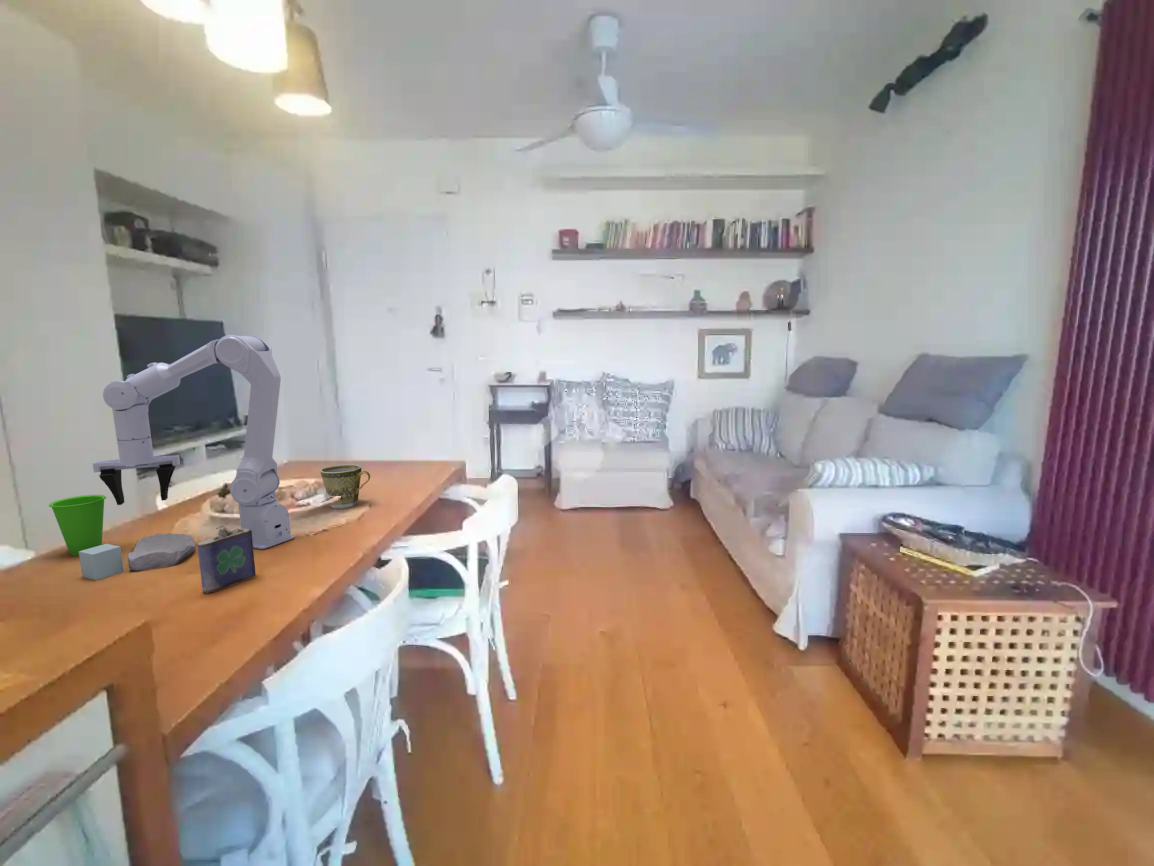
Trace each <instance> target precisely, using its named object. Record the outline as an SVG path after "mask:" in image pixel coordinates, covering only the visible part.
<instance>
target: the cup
mask: <svg viewBox="0 0 1154 866" xmlns="http://www.w3.org/2000/svg"><path fill="white" fill-rule="evenodd" d="M106 499H107V496H106V495H104V494H86V495H78V496H70V497H66V498H62V499H58V500H54V501H52V502H50V503H49V504H48V507H49V508H52V511H53V514H54V517H55V519H56V522H57V524H58V527H59V529H60V531H61V532H60V533H61V535H62V537H63V539H64V540H63V541H64V542H65V546H66V547H67V551H68V552H69V553H70V555H72V556H79V551H82V550H86V549H89V548H93V547H96V546H100V545H103V531H104V529H103V527H104V511H105V500H106Z"/></svg>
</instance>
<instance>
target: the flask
mask: <svg viewBox="0 0 1154 866" xmlns="http://www.w3.org/2000/svg"><path fill="white" fill-rule="evenodd" d="M215 529H216V530H218V532H217V536H214V537H211V538H207V539H205V540H200V541H199V542H198V543H197V544H196V545H197V546H196V547H197V554H198V562H199V570H200V579H201V591H202V592H203V594H208V595H209V594H210V593H216V592H219V591H220V590H222V589H223V590H224V589H225V588H226V589H227V588H228V587H229V588H230V587H232V586H234V585H237V584H238V583H242V582H244V581H247V580H249V579H253V578H255V577H256V576H257V574H256V564H255V554H254V548H253V541H252V531H251V530H250V529H245V528H244V529H241V528H239V527H238V528H235V529H232V530H229V529H227V525H225V524H221V525H219V526H218V527H216V528H215Z"/></svg>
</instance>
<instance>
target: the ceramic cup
mask: <svg viewBox="0 0 1154 866" xmlns="http://www.w3.org/2000/svg"><path fill="white" fill-rule="evenodd" d="M363 474H366V475H367V476H368V477H367V480H365V482H363V483H361V476H362V475H363ZM320 475H321V479H322V482H323V485H324V487H325V492H326V494H327V493H328V494H329V495H330V496H341V498H340V499H339V500H338V501H336V502H335V503H334V505H331V504H330V503H329V506H330V507H331V508H332V509H339V510H340V509H341V510H342V509H348V508H349V509H350V508H353V507H355V506H357V505H358V504H359V495H360V490H361V489H362V488H363V487H364V486H365V485H366V484H367V483H368V482H369V481H370V479H371V475H370V473H369V471H366V470H363V471H362V465H359V464H351V463H350V464H349V463H348V464H338V465H331V466H330V465H329V466H325V467H322V468H321V469H320ZM360 485H361V486H360Z"/></svg>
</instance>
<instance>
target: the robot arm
mask: <svg viewBox="0 0 1154 866" xmlns="http://www.w3.org/2000/svg"><path fill="white" fill-rule="evenodd" d="M272 353H273V348H271V347H270V346H269V344H268V343H267V342H265V341H264V340H263V339H262V338H261V337H258V336H256V335H235V334H233V335H232V334H229V335H223V336H222V337H221V338H219V339H214V340H211V341H209V342H208V343H206V344H204V345H203V346H201V347H200V348H197V349H196V350H193V351H191V352H190V353H188V354H186V355H184V356H183V357H181V358H179V359H177V360H176V361H174V362H172V363H165V362H151V363H149V364H146V367H147V368H146V369H144V370H141V371H140V372H138V373H136V374H135V373H130V374H128V375H126V379H125V380H113V381H112V380H111V382H110V383H109V384H107V385H106V386H105V388H104V389H103V392H102V397H103V400H104V402H105V403H106V405H107V406H108V407H109V408H111V409H112V415H113V416H112V417H113V422H114V423H113V424H114V430H115V435H116V444H117V450H118V457H119V458H117V459H111V460H98V461H94V462H93V463H92V469H93V470H92V471H93V473H100V474H98V477H99V479H100V480H101V481H102V482H103V483H104V484H105V485H106V487H107V488H108V489H109V491H110V493H111V494H112V496H113V497H114V499H115V502H116V505H117V506H122V505H123V504H125V495H124V491H123V484H122V470H131V469H132V470H133V469H134V470H135V469H144V468H146V469H147V468H153V467H156V470H155V471H156V475H157V478H158V482H159V488H160V489H159V490H160V491H159V492H160V499H161V501H162V502H163V501H167V499H168V498H169V496H168V495H169V487H170V483H171V480H172V477H173V474H174V472H175V469H176V466H179V465H180V464H181V460H180V459H181V458H180V455H179V454H177V455H175V454H174V455H154V448H153V441H152V435H151V434H152V433H151V426H150V420H149V411H150V410H149V406H150V404H151V402H152V400H154V399H156V398H158V397H160V396H163V395H164V394H167V393H168V392H170V391H173V390H174V389H176V388H178V387H179V386H180V385H181V380H182V378H184V377H185V378H186V377H187V376H189V375H191V374H193V373H196V372H198V371H201V370H203V369H204V368H207V367H209V366H211V365H213V364H223V365H224V366H226V367H227V368H229V369H232V370H233V371H235V372H237V373H239V374H240V375H241V376H243V378H244V379H245V380H246V381H247V382H248V383H250V391H249V400H248V401H249V403H248V413H247V421H246V431H245V441H244V442H245V443H244V453H243V458H242V459H241V462H240V463H239V465H238V467H237V468H236V475H235V477H234V479H233V480H232V482H231V483H230V487H229V492H230V496H231V497H232V498H233V500H234V501H236V502H237V503H238V512H239V521H240V523H239V524H240V529H244V528H245V529H250V530H251V531H252V541H253V549H259V550H266V549H268V548H270V547H274V546H276V545H279V544H281V543H284V542H286V541H289V540H293V539H295V535H293V534H291V526H290V525H291V524H290V514H289V510H288V508H287V507H286V505H284V504H281V503H279V501H278V500H277V494H276V491H277V490H278V488H279V487H280V483H281V481H280V476H279V474H278V463H277V462H276V461H275V459H274V458H273V454H274V452H273V451H274V444H275V437H276V436H275V435H276V425H277V417H278V407H279V398H280V389H281V375H280V372H279V369H278V366H277V364H276V361H275V359H274V357H273V354H272ZM157 467H158V468H157Z"/></svg>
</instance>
